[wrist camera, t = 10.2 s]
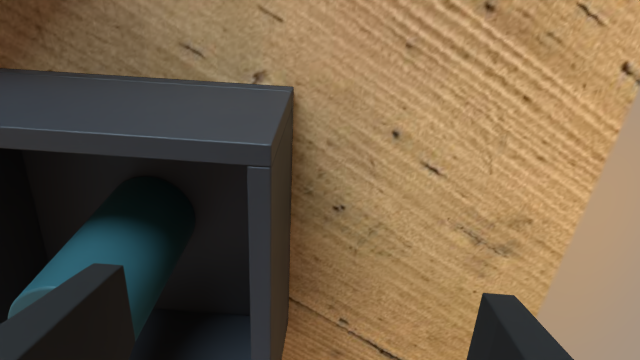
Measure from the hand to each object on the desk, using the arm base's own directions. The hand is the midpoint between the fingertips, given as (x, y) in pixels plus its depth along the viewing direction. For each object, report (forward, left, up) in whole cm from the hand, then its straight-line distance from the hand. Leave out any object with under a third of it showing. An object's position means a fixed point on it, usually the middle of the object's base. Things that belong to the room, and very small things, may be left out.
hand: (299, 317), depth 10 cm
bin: (-4, +7, -10) cm, 13 cm away
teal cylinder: (-4, +7, -10) cm, 13 cm away
